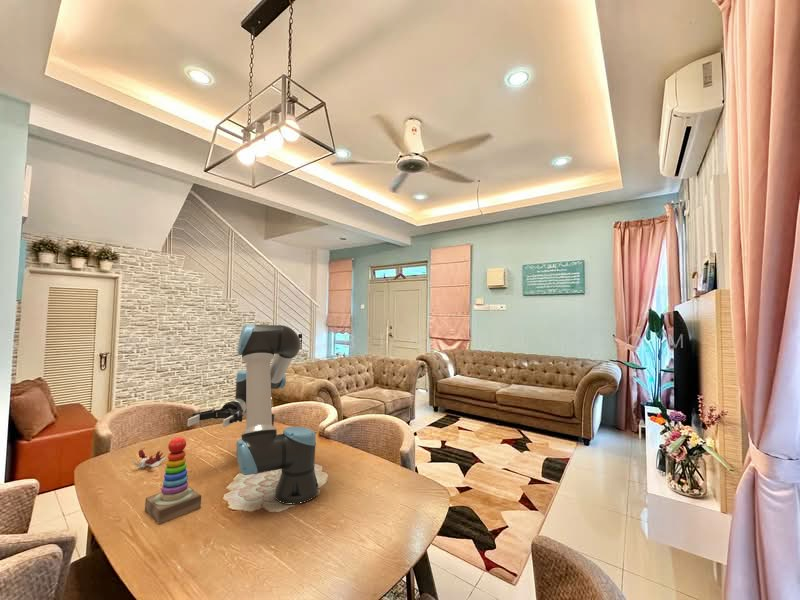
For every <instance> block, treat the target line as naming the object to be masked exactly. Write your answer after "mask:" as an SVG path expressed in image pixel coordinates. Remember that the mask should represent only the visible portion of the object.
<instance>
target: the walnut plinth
mask: <svg viewBox="0 0 800 600" xmlns="http://www.w3.org/2000/svg"><path fill="white" fill-rule="evenodd" d="M188 488H189V491H188V493H187V494H186V495H185V496H183V497H181V498H178V499H175V500H163V499H161V498H160V494H161V492H160V493H156V494H154V495H150V496H147V497H145V502H144V511H145V512H146V514H148V515H149V516H150V517H151V518H152V519H153V520H154V521H155V520H156V521H157V522H158V523H159V524H158V523H157V522H156V521H155V522H156V523H157V524H158V525H161V524H163V523H162V522H164V523H166V522H169V521H171V520H174V519H177V518H179V517H181V516H184V515H186V514H189V513H191V512H193V510H194V511H196V510H198V508H199V509H201V508H202V507H201V505H202V495H201V494H200V493H198V491H196V490H194V489H193V488H191V487H190V486H189V485H188ZM188 512H189V513H188ZM168 520H169V521H168ZM165 521H166V522H165Z"/></svg>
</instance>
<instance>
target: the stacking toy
mask: <svg viewBox="0 0 800 600" xmlns="http://www.w3.org/2000/svg"><path fill="white" fill-rule="evenodd" d="M186 447H187V441H186V439H185V438H184V437H182V436H177V437H175V438H172V439H171V440H170V442H169V443H168V451H169V452H170V453H169V454H168V456H167V461H166V463H165V465H166V467H165V469H164V471H165V473H164V475H163V478H164V479H163V481H162V486H161V488H160V490H161V492H160V493H161V494H160V498H161V499H163V500H175V499H178V498H181V497H183V496H185V495H186V494H187V493H188V491H189V488H188V486H189V482H188V478H189V476H188V469H187V463H186V461H187V459H186V457H185V456H186V451H185V448H186Z"/></svg>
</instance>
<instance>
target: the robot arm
mask: <svg viewBox="0 0 800 600" xmlns="http://www.w3.org/2000/svg"><path fill="white" fill-rule="evenodd" d="M300 350H301V339H300V337H299V335H298V333H297V332H296V331H295V330H294V329H292V328H291V327H289V326H287V325H282V324H280V325H277V324H276V325H275V324H274V325H272V324H270V325H269V324H257V323H255V324H245V325H243V327H242V328H241V331H240V334H239V339H238V345H237V355H240V356H241V361H243V362H244V363H245V364H246V368H245V370H243V369H242V370H238V372H237V373H236V380H235V381H236V382H235V397H234V399H232V400H231V401H229V402H226V403H225V404H224V405H222V407H221V408H220V409H215V408H211V409H209V410H208V409H207V410H204V411H200V412H195V413H192V414H191V415H192V416H191V417H190V418H187V427H191V426H192V425H195V424H198V423H199V422H200V421H204V420H209V419H210V420H211V419H214V420H217V419H223V420H222V422H223V423H222V428H227V427H228V426H230V425H231V424H234V423H237V422H240V423H242V422H243V416H244V414H245V413H246V418H245V420H246V422H245V426H246V427H245V430H243V432H242V433H241V438H240V439H237V441H236V444H235V445H236V459H237V464H238V469H239V471H240V473H241V474H242V475H243V476H250V475H252V476H253V475H256V476H257V475H259V474H263V473H268V472H272V471H278V470H281V474H280V477H279V480H278V482H277V486H276V488H275V492H274V497H276V498H277V499H278V500H279V501H281V502H284V503H292V504H291V505H294V504H293V503H300V502H304V501H307V500H309V499H311V498H313V497H314V496H315V495H316V494H317V493H318V494H319V483H318V480H317V475H316V473H315V460H316V445H317V439H316V435H317V434H316V433H315V431H314V430H313V429H310V428H308V427H304V426H289V427H286V428H285V429H283V432H282V433H280V434H278V433H277V430H278V429H277V428H276V427H275V426H274V425H272V414H273V413H272V390H280V389H283V388H285V387H286V383H287V378H286V372H287V371H288V369H289V366H290V364H291V362H292V361H293V359H294V358H295V357H296V356H297V355H298V354H299V351H300ZM318 494H317V495H318ZM276 498H275V499H276ZM313 499H314V498H313ZM279 501H278V502H279ZM281 502H280V503H281ZM307 502H308V501H307ZM284 503H283V504H284ZM300 504H301V503H300Z"/></svg>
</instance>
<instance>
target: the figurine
mask: <svg viewBox="0 0 800 600" xmlns="http://www.w3.org/2000/svg"><path fill="white" fill-rule="evenodd" d="M145 449H146V448H145V447H142V448H141V449H140V450H138V456H139V457H138V458H141V460H140V462H139V463H137V462H136V461H133V462H132V463H133V464H134V465H135V467H136V468H139V469H141V468H142V469H144V468H145V467H146V466H148V467H150V468H157V467H156V466H158V467H159V466H160V465H161V463H162V462H163V461H164V460H165V459H167V456H166V455H164V456H162V455H163V453H164V452H161V450H158V451H157V453H156V454H154V455H150V456H149V457H148V456H147V455H146V453H144V452H145V451H144V450H145ZM154 456H155V457H154Z"/></svg>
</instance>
